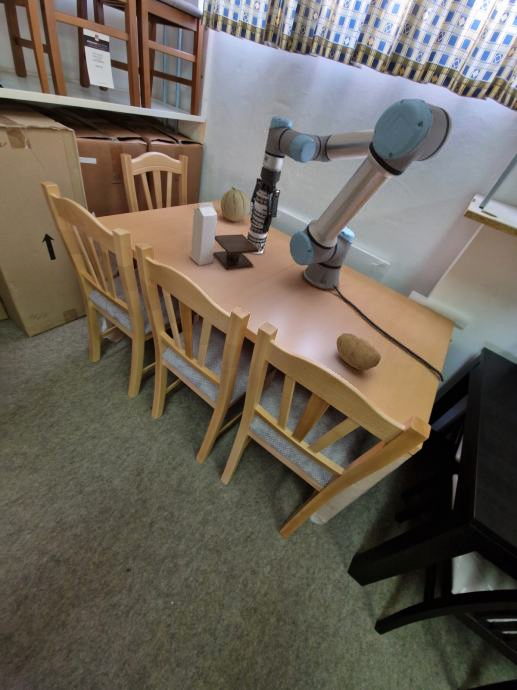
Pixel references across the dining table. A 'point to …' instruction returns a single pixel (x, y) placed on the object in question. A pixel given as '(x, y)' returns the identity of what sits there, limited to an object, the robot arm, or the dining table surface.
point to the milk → (203, 233)
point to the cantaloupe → (235, 205)
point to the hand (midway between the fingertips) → (259, 226)
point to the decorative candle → (259, 221)
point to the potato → (357, 352)
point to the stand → (234, 251)
